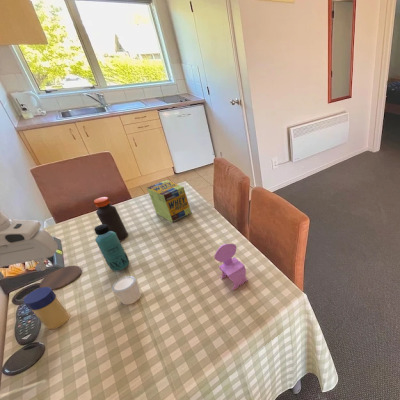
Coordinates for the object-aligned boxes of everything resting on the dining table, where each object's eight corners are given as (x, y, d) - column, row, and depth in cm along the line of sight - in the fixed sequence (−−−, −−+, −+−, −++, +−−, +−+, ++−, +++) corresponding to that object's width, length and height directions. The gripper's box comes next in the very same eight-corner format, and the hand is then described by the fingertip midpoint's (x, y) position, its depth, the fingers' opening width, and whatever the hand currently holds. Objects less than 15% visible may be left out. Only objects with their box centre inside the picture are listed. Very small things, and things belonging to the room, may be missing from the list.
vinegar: (128, 238, 120) (110, 200, 110) (110, 244, 117) (90, 205, 106) (128, 231, 125) (110, 194, 115) (110, 236, 121) (91, 198, 111)
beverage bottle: (108, 271, 102) (84, 230, 92) (124, 260, 108) (103, 219, 98) (119, 276, 100) (96, 234, 90) (135, 264, 106) (115, 223, 95)
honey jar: (42, 331, 81) (20, 307, 75) (50, 316, 86) (30, 291, 80) (66, 325, 83) (46, 300, 77) (72, 310, 88) (54, 285, 82)
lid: (24, 313, 76) (18, 306, 75) (34, 297, 81) (29, 290, 80) (51, 305, 78) (45, 299, 77) (59, 290, 83) (54, 284, 82)
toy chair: (231, 293, 93) (222, 261, 85) (218, 280, 98) (209, 249, 90) (251, 279, 98) (244, 248, 91) (237, 268, 103) (230, 237, 96)
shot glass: (114, 304, 89) (106, 290, 86) (130, 288, 95) (122, 274, 92) (132, 307, 88) (124, 293, 85) (147, 291, 94) (140, 277, 91)
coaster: (33, 295, 93) (32, 294, 93) (48, 272, 103) (47, 270, 102) (75, 284, 97) (75, 283, 97) (86, 263, 107) (85, 262, 106)
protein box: (173, 223, 130) (163, 195, 122) (156, 213, 137) (145, 187, 130) (192, 213, 138) (184, 186, 130) (175, 204, 145) (166, 179, 137)
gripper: (-79, 253, 61) (-38, 294, 68) (35, 232, 68) (61, 271, 75) (-58, 237, 66) (-23, 277, 73) (46, 219, 73) (69, 257, 80)
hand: (21, 274), depth 74 cm, fingers open, 8 cm apart
